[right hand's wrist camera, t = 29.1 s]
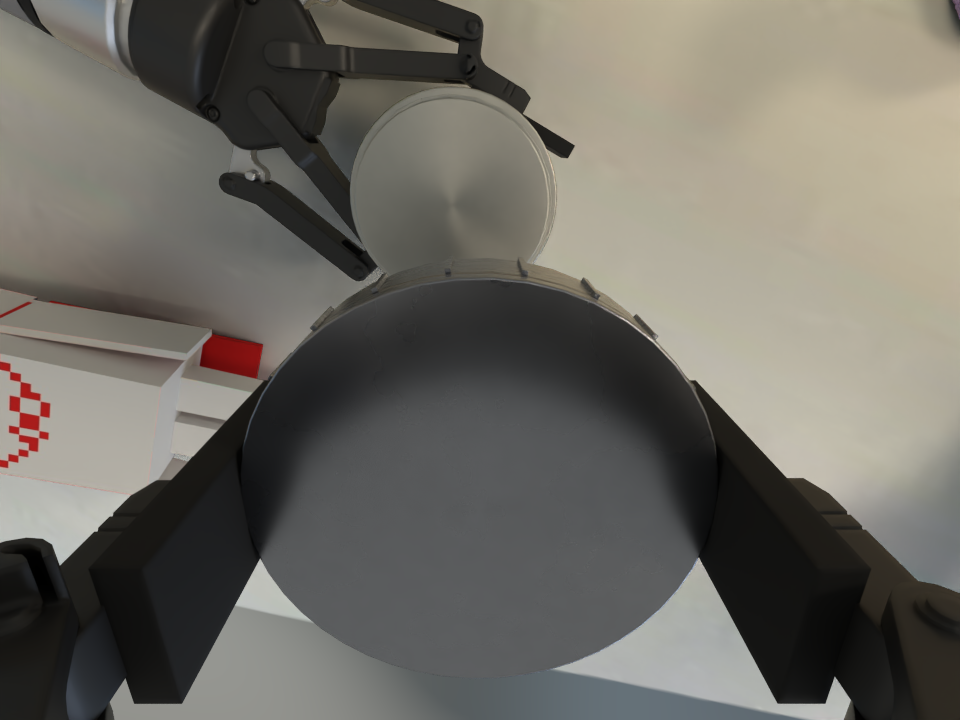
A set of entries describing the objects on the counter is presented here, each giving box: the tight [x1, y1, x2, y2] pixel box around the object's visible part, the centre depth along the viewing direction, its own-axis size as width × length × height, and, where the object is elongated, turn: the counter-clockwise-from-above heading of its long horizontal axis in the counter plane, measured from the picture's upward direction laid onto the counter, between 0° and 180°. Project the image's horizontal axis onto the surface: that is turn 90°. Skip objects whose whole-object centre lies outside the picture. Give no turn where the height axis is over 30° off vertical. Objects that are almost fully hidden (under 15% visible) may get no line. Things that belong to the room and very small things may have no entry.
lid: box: [240, 255, 718, 678], centre depth 11 cm, size 10×10×2 cm
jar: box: [350, 86, 557, 276], centre depth 29 cm, size 9×9×19 cm
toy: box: [0, 288, 264, 495], centre depth 38 cm, size 12×13×30 cm
